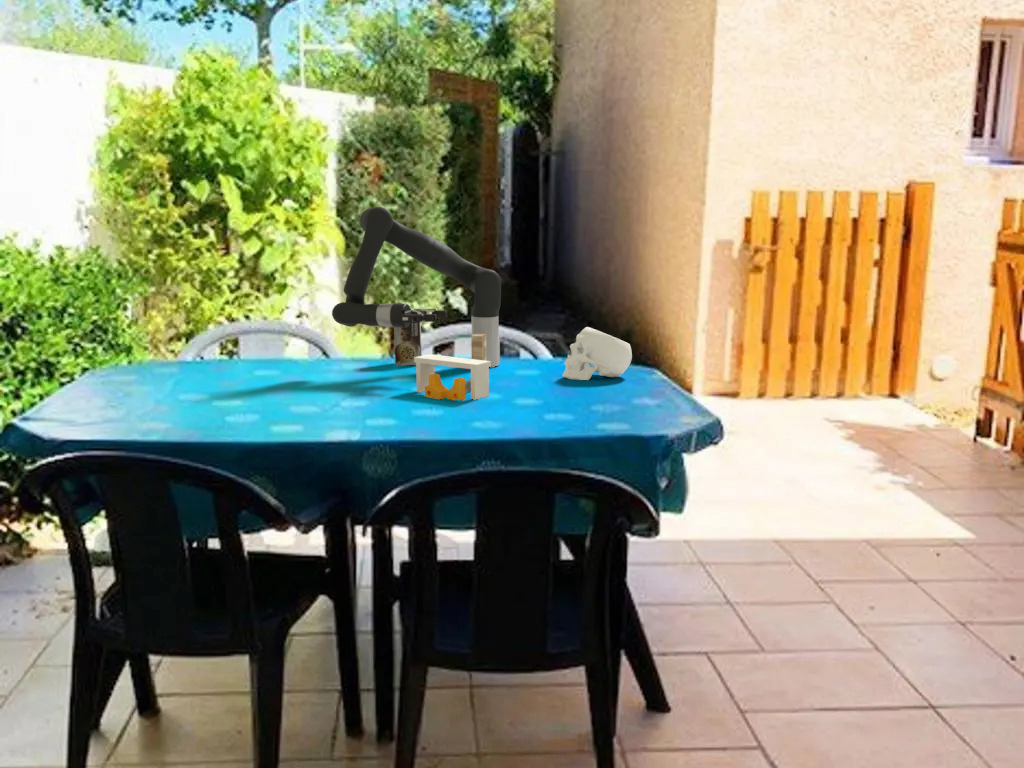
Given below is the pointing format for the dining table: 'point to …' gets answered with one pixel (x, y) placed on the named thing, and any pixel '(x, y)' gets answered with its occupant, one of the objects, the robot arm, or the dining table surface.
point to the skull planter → (597, 355)
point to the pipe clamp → (441, 391)
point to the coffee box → (407, 344)
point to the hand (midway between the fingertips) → (441, 316)
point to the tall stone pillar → (477, 353)
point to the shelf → (478, 367)
